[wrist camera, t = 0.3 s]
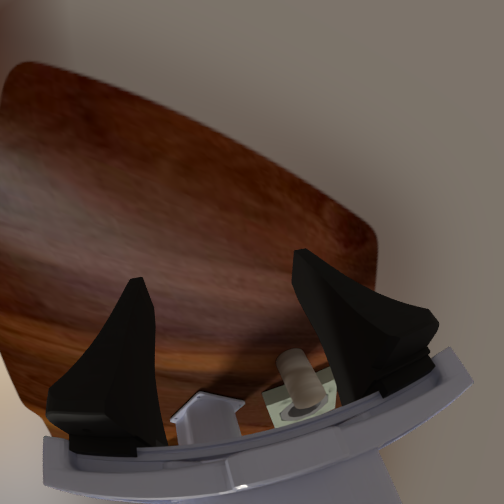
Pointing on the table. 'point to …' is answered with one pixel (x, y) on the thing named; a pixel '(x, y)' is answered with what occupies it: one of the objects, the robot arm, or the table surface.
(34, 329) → the table surface
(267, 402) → the socket block
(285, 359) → the pin
